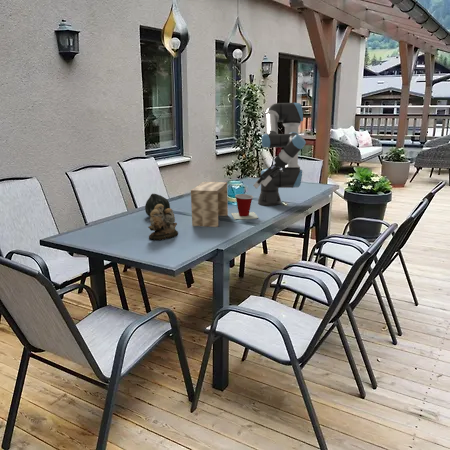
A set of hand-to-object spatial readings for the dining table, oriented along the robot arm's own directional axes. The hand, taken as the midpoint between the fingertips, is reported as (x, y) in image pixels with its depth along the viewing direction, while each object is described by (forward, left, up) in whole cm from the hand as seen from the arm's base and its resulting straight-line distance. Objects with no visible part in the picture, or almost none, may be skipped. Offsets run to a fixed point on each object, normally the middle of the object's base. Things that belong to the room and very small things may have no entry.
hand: (259, 186), depth 259 cm
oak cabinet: (+29, +4, -18) cm, 35 cm away
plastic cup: (+9, -2, -18) cm, 20 cm away
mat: (+8, -2, -18) cm, 20 cm away
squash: (+59, -12, -18) cm, 63 cm away
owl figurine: (+56, +30, -18) cm, 67 cm away
